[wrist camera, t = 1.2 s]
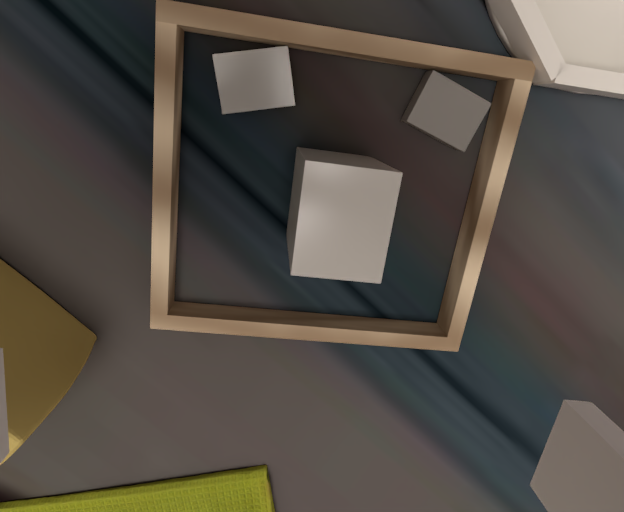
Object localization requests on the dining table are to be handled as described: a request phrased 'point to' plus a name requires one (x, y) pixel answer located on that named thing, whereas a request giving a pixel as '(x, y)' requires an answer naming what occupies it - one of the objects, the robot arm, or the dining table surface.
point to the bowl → (566, 42)
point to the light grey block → (254, 79)
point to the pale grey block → (340, 215)
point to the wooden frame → (279, 32)
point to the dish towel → (167, 496)
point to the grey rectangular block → (445, 111)
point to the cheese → (36, 353)
